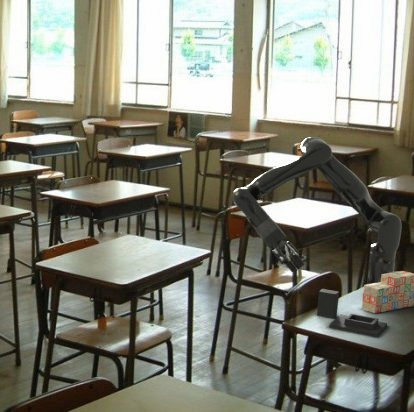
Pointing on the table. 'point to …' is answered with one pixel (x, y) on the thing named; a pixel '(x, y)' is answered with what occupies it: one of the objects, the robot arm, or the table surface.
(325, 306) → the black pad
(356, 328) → the base pad
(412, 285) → the stack of blocks
